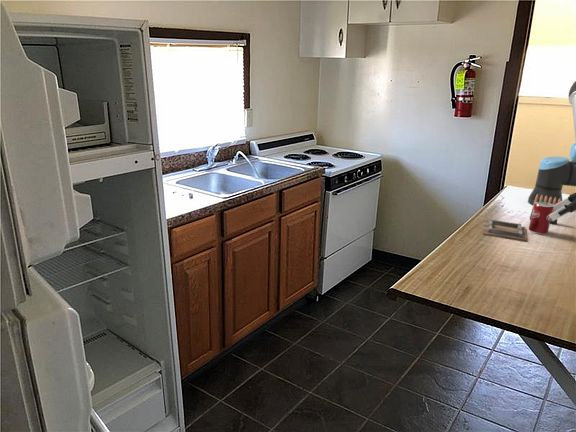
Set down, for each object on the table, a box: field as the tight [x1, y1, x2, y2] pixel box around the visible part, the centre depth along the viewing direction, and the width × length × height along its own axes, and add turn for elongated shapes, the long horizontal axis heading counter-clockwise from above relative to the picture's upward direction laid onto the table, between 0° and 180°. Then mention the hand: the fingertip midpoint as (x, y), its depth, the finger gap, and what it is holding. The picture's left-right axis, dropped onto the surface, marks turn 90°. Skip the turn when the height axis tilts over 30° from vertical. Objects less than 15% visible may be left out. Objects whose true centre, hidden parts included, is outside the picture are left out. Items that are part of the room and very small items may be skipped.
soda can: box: [528, 202, 554, 235], centre depth 196 cm, size 7×7×12 cm
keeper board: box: [482, 218, 528, 243], centre depth 197 cm, size 16×16×2 cm
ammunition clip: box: [528, 194, 561, 226], centre depth 209 cm, size 11×2×12 cm, turn 54°
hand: (552, 213), depth 193 cm, fingers open, 13 cm apart
